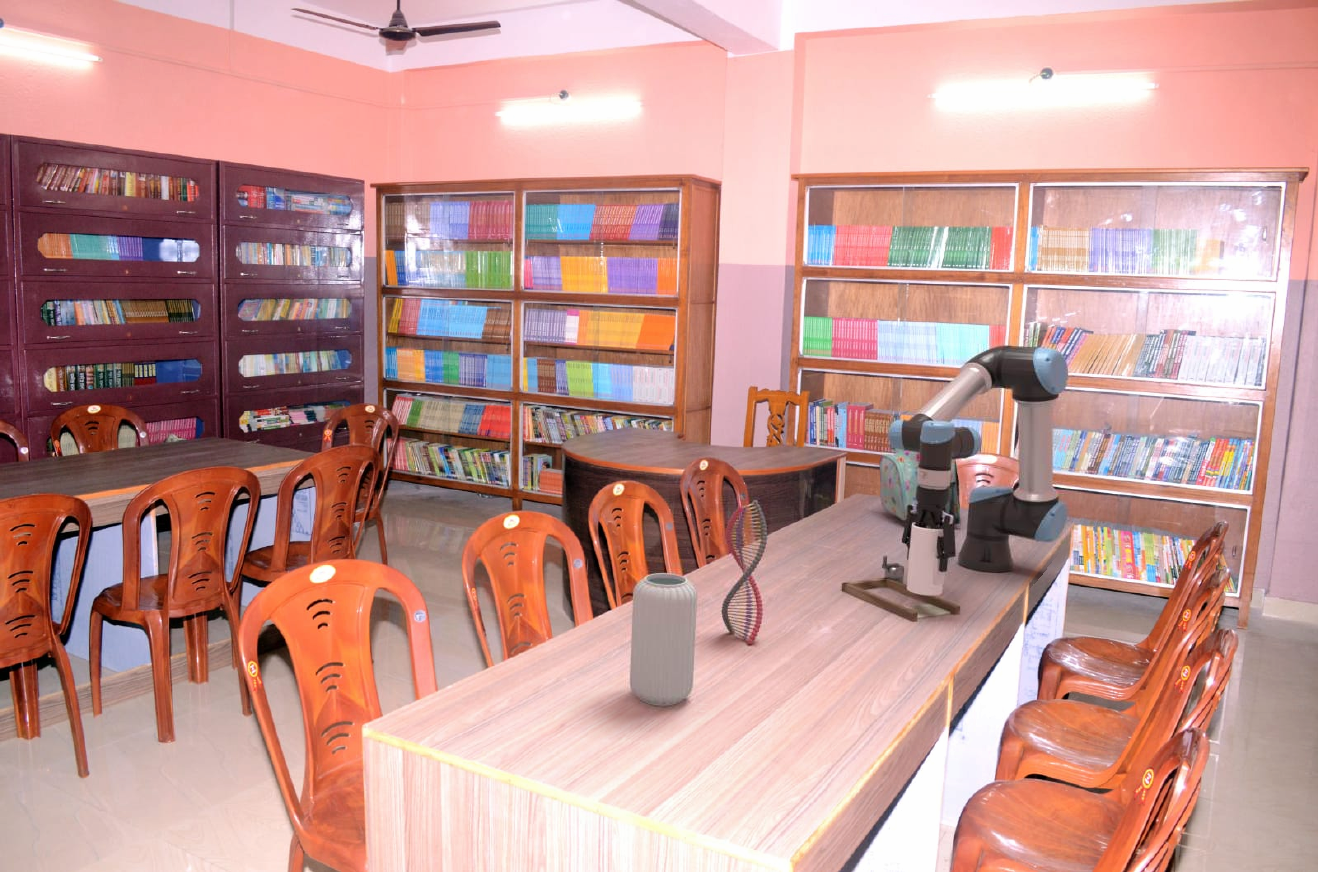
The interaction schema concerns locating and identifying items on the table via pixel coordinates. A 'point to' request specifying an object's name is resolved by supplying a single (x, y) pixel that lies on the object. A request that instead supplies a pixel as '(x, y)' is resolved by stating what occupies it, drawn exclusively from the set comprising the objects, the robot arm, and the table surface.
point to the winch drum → (893, 571)
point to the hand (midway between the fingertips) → (925, 579)
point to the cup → (923, 561)
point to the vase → (663, 639)
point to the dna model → (745, 571)
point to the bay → (912, 613)
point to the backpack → (910, 484)
